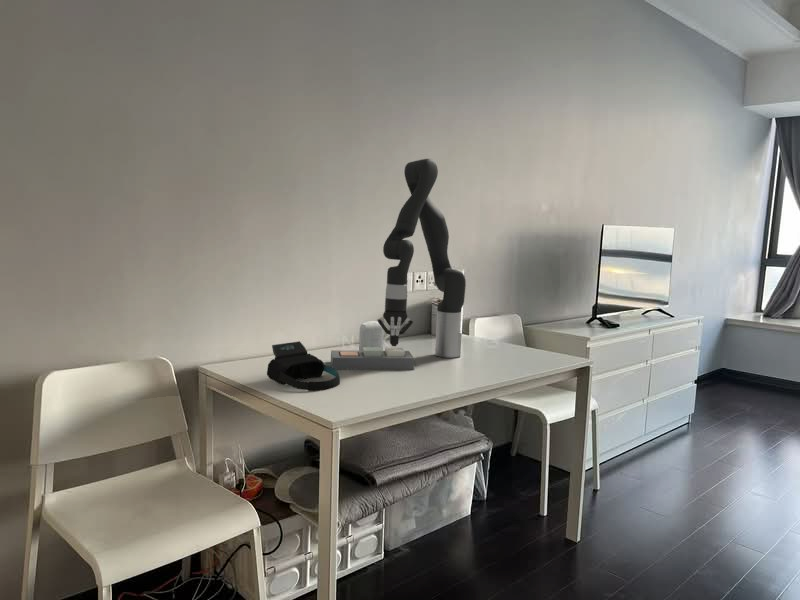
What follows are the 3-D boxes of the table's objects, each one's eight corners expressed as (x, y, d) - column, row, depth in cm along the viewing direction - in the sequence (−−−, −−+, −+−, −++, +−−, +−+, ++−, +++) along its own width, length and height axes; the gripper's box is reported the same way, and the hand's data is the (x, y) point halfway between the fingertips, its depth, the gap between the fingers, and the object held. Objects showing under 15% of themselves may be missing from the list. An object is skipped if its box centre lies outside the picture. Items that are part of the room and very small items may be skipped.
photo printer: (377, 350, 246) (378, 319, 245) (384, 352, 243) (385, 320, 242) (357, 353, 239) (358, 321, 238) (364, 355, 236) (365, 323, 235)
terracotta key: (356, 359, 222) (357, 351, 222) (358, 363, 216) (358, 355, 216) (339, 359, 221) (340, 351, 221) (340, 363, 215) (341, 355, 215)
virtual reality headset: (304, 368, 209) (308, 339, 207) (349, 392, 195) (354, 361, 193) (258, 376, 195) (262, 346, 192) (304, 402, 181) (308, 370, 179)
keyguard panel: (408, 361, 228) (408, 350, 228) (413, 369, 217) (414, 358, 216) (330, 361, 224) (331, 350, 223) (332, 369, 212) (332, 357, 212)
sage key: (379, 355, 223) (379, 347, 223) (381, 358, 217) (381, 351, 217) (362, 355, 222) (362, 347, 222) (364, 358, 216) (364, 350, 216)
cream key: (401, 355, 225) (401, 347, 224) (404, 359, 219) (404, 351, 218) (385, 355, 224) (385, 347, 223) (387, 359, 218) (387, 351, 217)
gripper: (413, 296, 223) (410, 344, 225) (376, 295, 221) (374, 343, 223) (416, 298, 216) (414, 348, 218) (378, 297, 214) (376, 347, 216)
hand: (393, 345), depth 221 cm, fingers closed
